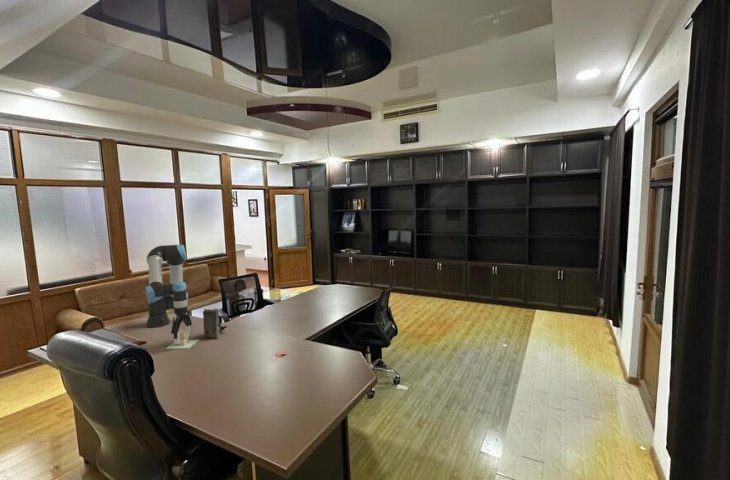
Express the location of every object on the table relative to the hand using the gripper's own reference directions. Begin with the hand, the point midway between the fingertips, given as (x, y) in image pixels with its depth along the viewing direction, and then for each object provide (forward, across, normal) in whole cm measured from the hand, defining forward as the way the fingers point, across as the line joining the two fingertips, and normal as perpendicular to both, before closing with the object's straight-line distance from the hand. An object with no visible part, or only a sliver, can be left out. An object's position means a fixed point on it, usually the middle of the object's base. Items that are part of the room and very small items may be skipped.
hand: (182, 339), depth 218 cm
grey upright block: (+4, -17, +14) cm, 22 cm away
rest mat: (+3, 0, 0) cm, 3 cm away
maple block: (+3, 0, 0) cm, 3 cm away
